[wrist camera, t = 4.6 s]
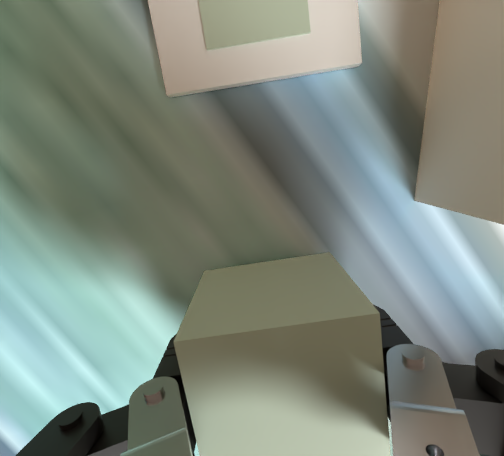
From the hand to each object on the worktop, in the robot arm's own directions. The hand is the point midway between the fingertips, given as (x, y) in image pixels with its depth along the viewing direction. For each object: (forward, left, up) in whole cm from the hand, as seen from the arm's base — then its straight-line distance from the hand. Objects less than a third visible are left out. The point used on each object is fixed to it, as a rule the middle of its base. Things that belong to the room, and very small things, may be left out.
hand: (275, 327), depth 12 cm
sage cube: (0, 0, -1) cm, 1 cm away
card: (-1, -12, -1) cm, 12 cm away
